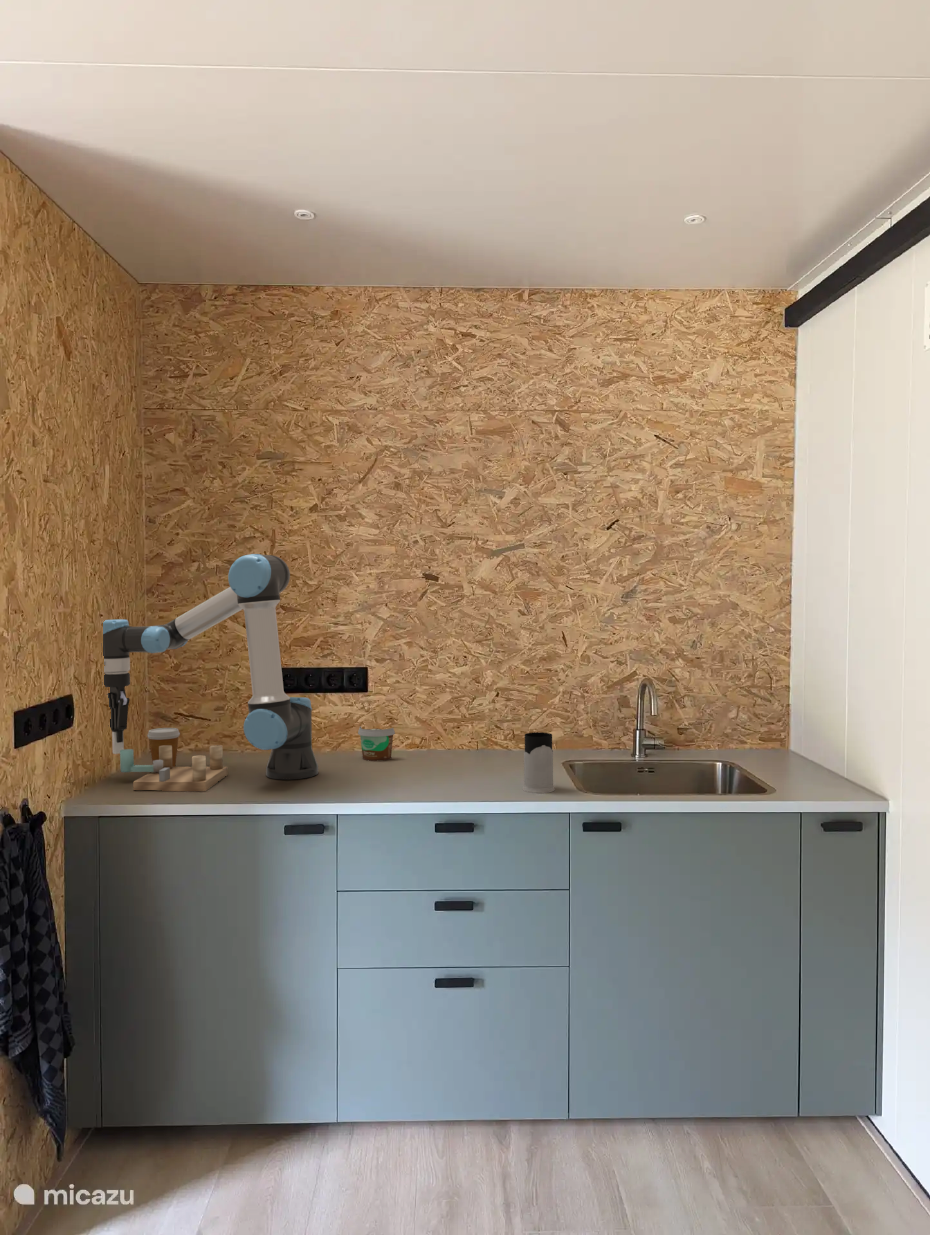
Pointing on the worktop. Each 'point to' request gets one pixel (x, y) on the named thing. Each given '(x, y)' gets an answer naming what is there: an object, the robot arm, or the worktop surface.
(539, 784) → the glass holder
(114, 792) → the worktop surface
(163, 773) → the block
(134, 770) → the hinged leg
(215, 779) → the stool seat
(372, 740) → the food container
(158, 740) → the disposable coffee cup
